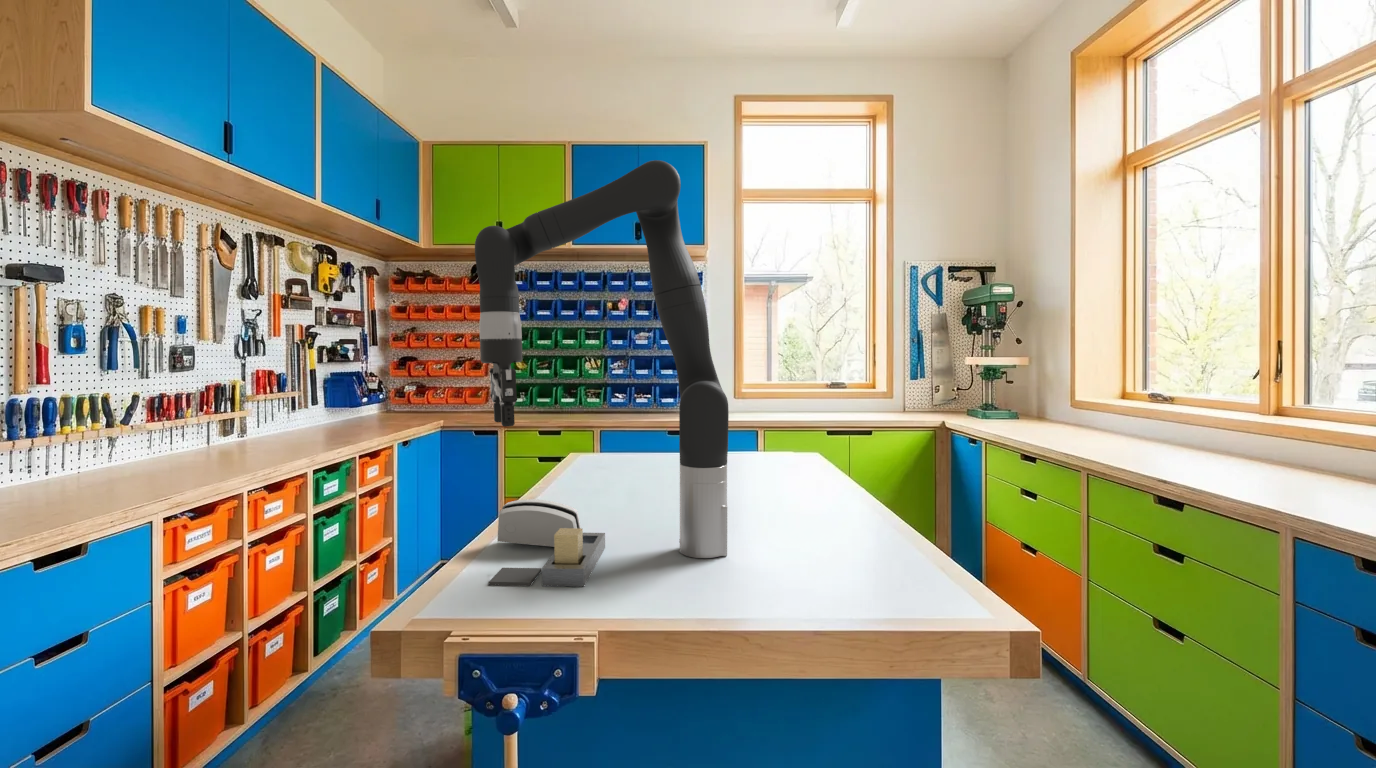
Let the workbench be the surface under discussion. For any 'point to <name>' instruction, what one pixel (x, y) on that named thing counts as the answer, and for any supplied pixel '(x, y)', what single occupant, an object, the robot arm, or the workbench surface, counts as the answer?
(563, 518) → the white arched device
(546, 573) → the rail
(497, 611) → the workbench surface
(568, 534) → the tan wooden beam
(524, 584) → the pad
